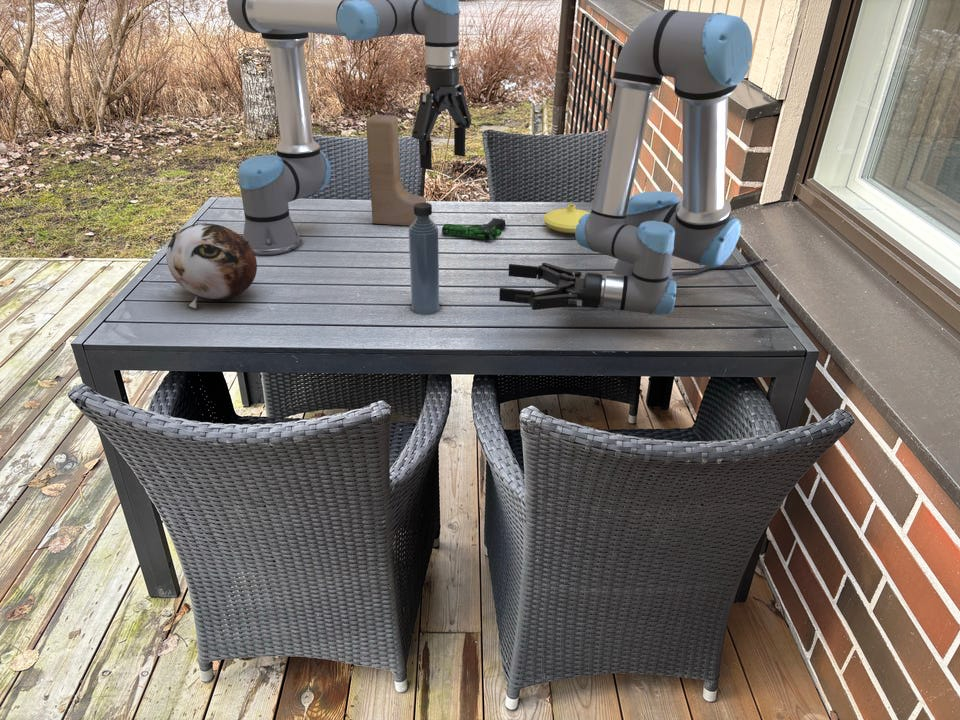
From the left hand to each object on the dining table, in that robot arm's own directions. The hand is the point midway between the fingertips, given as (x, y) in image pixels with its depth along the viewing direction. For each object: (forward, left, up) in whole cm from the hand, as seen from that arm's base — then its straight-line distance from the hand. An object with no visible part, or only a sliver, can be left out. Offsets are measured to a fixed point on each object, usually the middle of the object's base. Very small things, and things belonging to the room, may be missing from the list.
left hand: (443, 161), depth 169 cm
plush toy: (-35, -43, -28) cm, 62 cm away
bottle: (+9, -20, -28) cm, 35 cm away
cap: (+9, -20, -4) cm, 22 cm away
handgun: (-8, +28, -28) cm, 40 cm away
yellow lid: (+12, +46, -28) cm, 55 cm away
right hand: (+26, -14, -19) cm, 35 cm away
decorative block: (-32, +22, -28) cm, 48 cm away
